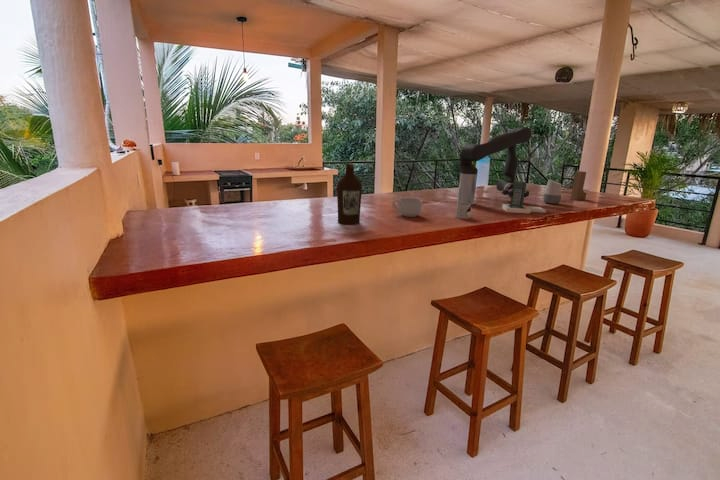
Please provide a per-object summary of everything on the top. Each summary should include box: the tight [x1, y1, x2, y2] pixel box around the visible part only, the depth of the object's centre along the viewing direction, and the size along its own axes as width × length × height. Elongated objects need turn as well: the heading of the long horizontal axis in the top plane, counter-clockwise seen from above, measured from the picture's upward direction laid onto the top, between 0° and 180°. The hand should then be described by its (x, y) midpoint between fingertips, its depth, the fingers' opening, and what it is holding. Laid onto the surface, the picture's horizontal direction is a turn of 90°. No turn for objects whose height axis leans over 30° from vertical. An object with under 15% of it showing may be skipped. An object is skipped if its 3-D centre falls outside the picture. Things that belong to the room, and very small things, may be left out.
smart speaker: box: [543, 179, 563, 205], centre depth 219 cm, size 10×9×14 cm
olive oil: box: [336, 163, 363, 226], centre depth 156 cm, size 11×11×25 cm
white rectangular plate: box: [525, 205, 547, 214], centre depth 199 cm, size 8×10×1 cm
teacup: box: [392, 197, 423, 218], centre depth 176 cm, size 14×11×8 cm
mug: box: [455, 202, 472, 220], centre depth 177 cm, size 10×7×7 cm, turn 160°
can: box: [509, 180, 527, 209], centre depth 194 cm, size 6×6×15 cm
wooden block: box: [570, 170, 588, 201], centre depth 236 cm, size 9×4×18 cm, turn 115°
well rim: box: [501, 203, 532, 214], centre depth 196 cm, size 12×12×2 cm
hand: (518, 194), depth 193 cm, fingers closed on can, 6 cm apart
